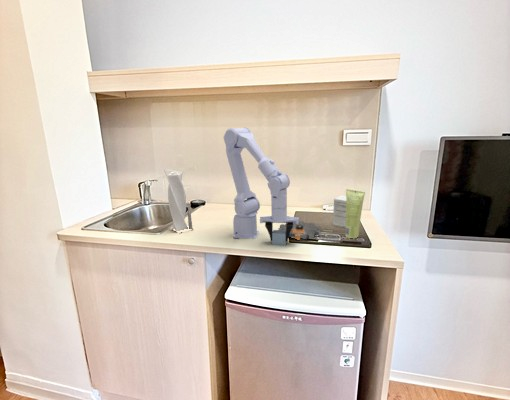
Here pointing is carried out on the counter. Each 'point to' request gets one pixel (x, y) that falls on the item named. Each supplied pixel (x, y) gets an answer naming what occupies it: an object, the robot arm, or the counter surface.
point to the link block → (279, 237)
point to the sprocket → (302, 230)
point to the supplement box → (339, 211)
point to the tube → (353, 212)
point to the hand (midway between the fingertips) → (279, 240)
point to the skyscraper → (177, 201)
